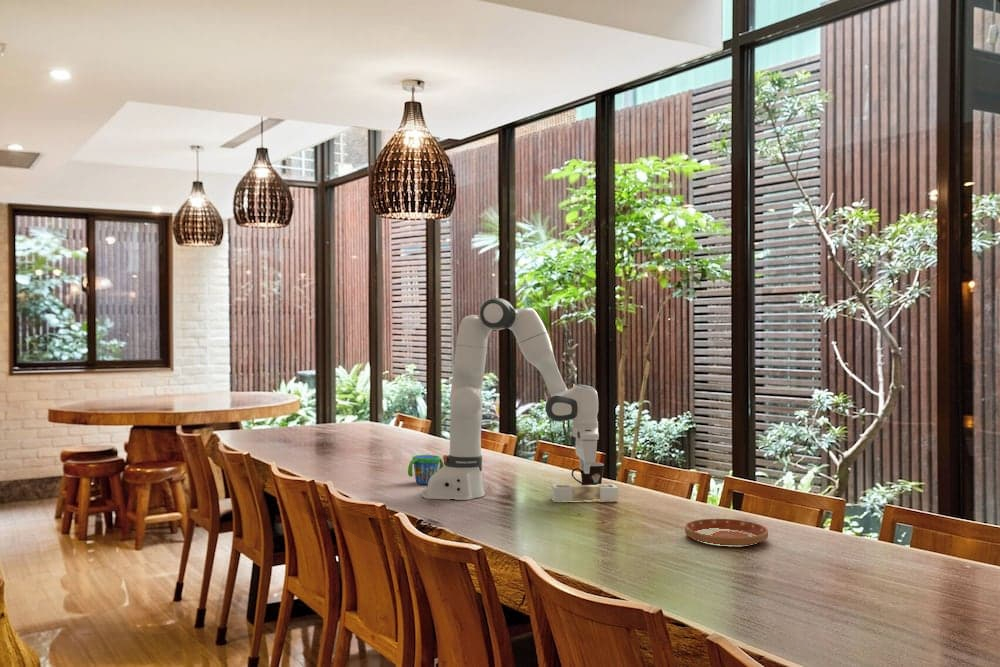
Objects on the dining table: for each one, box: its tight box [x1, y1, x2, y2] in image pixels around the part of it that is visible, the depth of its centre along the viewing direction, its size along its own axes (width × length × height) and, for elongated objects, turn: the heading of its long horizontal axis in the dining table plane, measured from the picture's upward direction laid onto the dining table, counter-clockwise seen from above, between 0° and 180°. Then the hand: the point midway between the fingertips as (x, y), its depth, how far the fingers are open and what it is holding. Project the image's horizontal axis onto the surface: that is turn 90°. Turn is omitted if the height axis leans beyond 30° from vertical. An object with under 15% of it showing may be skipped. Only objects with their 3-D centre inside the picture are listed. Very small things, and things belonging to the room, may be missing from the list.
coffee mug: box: [571, 461, 605, 485], centre depth 311 cm, size 12×9×10 cm
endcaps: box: [551, 483, 619, 503], centre depth 294 cm, size 22×7×5 cm, turn 94°
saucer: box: [684, 518, 769, 545], centre depth 242 cm, size 23×23×4 cm
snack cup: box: [407, 454, 444, 486], centre depth 323 cm, size 16×10×10 cm
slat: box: [561, 484, 608, 500], centre depth 294 cm, size 16×3×4 cm, turn 94°
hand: (584, 471), depth 294 cm, fingers open, 5 cm apart
